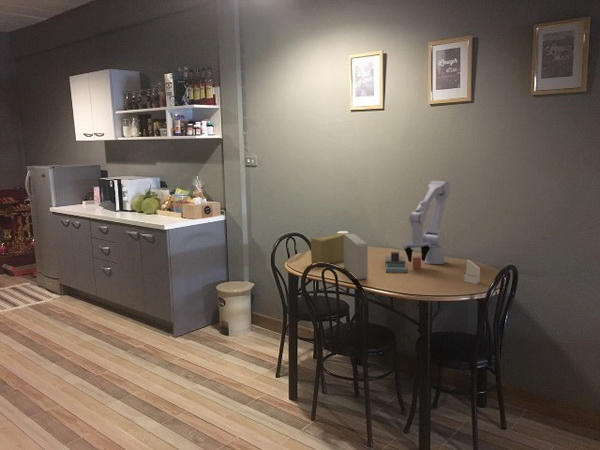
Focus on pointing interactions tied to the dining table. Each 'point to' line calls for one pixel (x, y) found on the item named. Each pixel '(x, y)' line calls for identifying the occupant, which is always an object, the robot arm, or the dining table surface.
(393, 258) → the switch
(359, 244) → the tall light grey box
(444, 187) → the robot arm
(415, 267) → the block
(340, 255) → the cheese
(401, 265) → the tray
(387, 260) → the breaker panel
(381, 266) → the dining table surface
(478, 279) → the white wedge bracket
